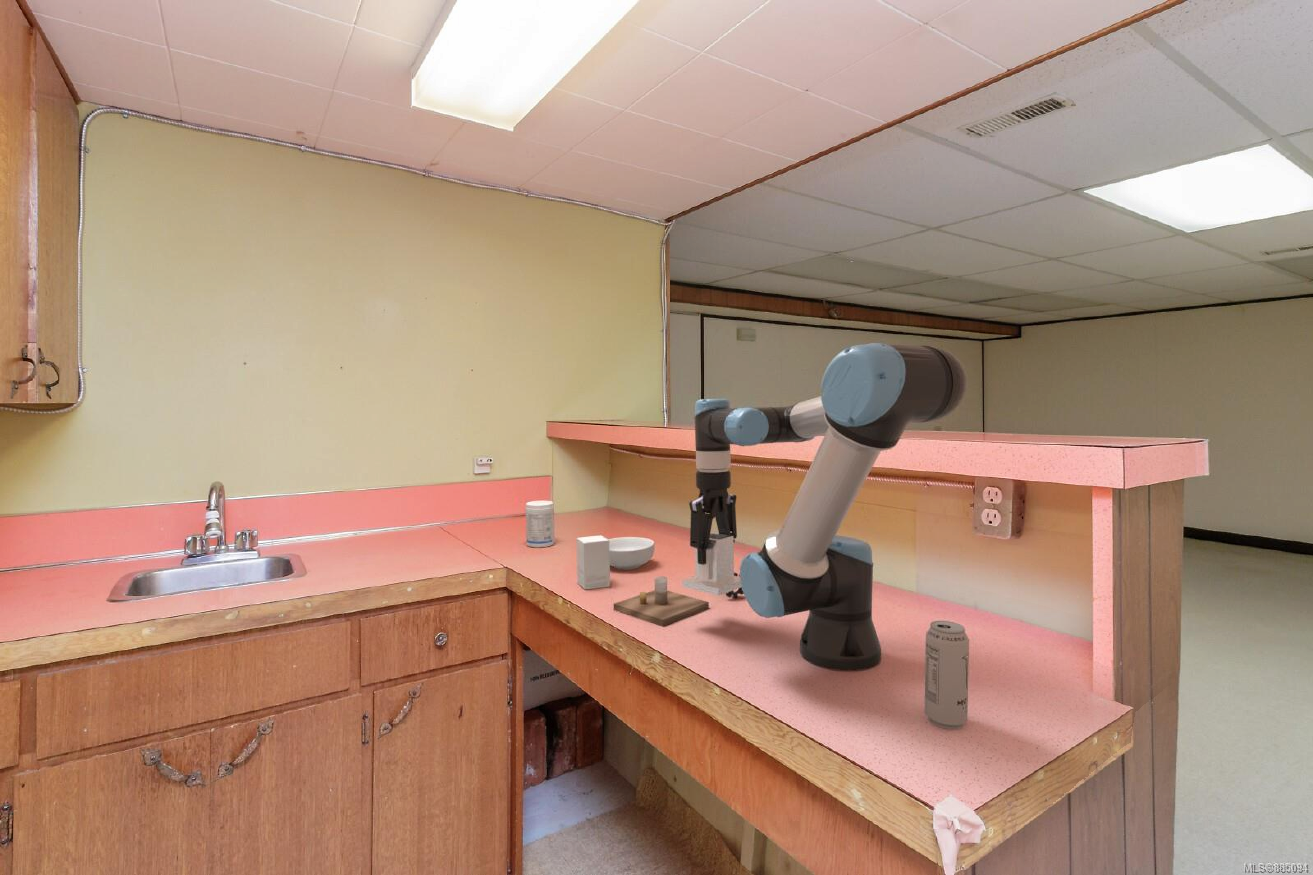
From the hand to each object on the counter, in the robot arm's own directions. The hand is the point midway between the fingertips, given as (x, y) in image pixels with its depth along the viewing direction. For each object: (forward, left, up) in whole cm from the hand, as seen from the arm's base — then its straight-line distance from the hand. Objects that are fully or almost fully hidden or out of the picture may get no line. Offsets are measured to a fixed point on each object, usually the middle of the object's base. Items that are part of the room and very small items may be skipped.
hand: (714, 575), depth 138 cm
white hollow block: (0, 0, -2) cm, 2 cm away
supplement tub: (+92, -20, -12) cm, 95 cm away
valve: (+14, -20, -12) cm, 27 cm away
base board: (+16, 0, -11) cm, 20 cm away
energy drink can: (-52, +8, -12) cm, 53 cm away
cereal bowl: (+50, -21, -12) cm, 56 cm away
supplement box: (+43, -2, -12) cm, 45 cm away
